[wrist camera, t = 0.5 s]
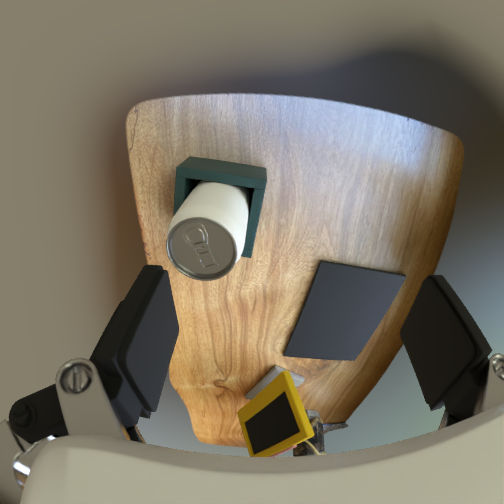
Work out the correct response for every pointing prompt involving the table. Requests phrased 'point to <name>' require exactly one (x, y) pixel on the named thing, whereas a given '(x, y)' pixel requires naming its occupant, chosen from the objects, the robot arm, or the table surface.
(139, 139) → the table surface
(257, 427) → the yellow framed monitor
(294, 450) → the lantern
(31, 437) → the robot arm
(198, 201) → the can
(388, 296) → the mat
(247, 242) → the box
